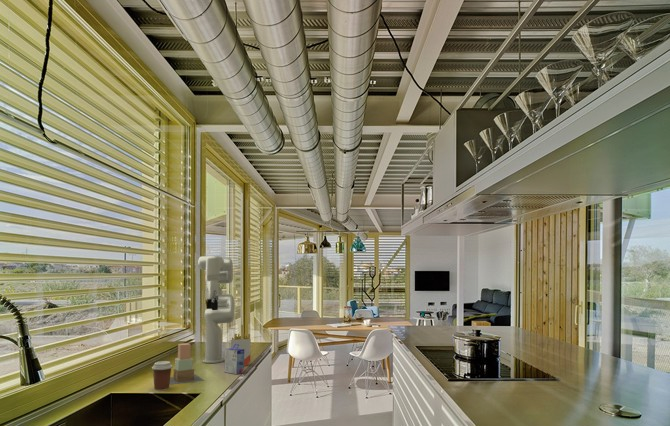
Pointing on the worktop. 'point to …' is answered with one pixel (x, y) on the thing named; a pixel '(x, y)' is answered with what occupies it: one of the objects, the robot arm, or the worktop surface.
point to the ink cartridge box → (234, 360)
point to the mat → (196, 378)
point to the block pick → (184, 351)
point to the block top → (183, 364)
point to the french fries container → (243, 345)
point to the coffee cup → (162, 375)
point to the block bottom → (183, 375)
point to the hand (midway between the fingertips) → (212, 309)
